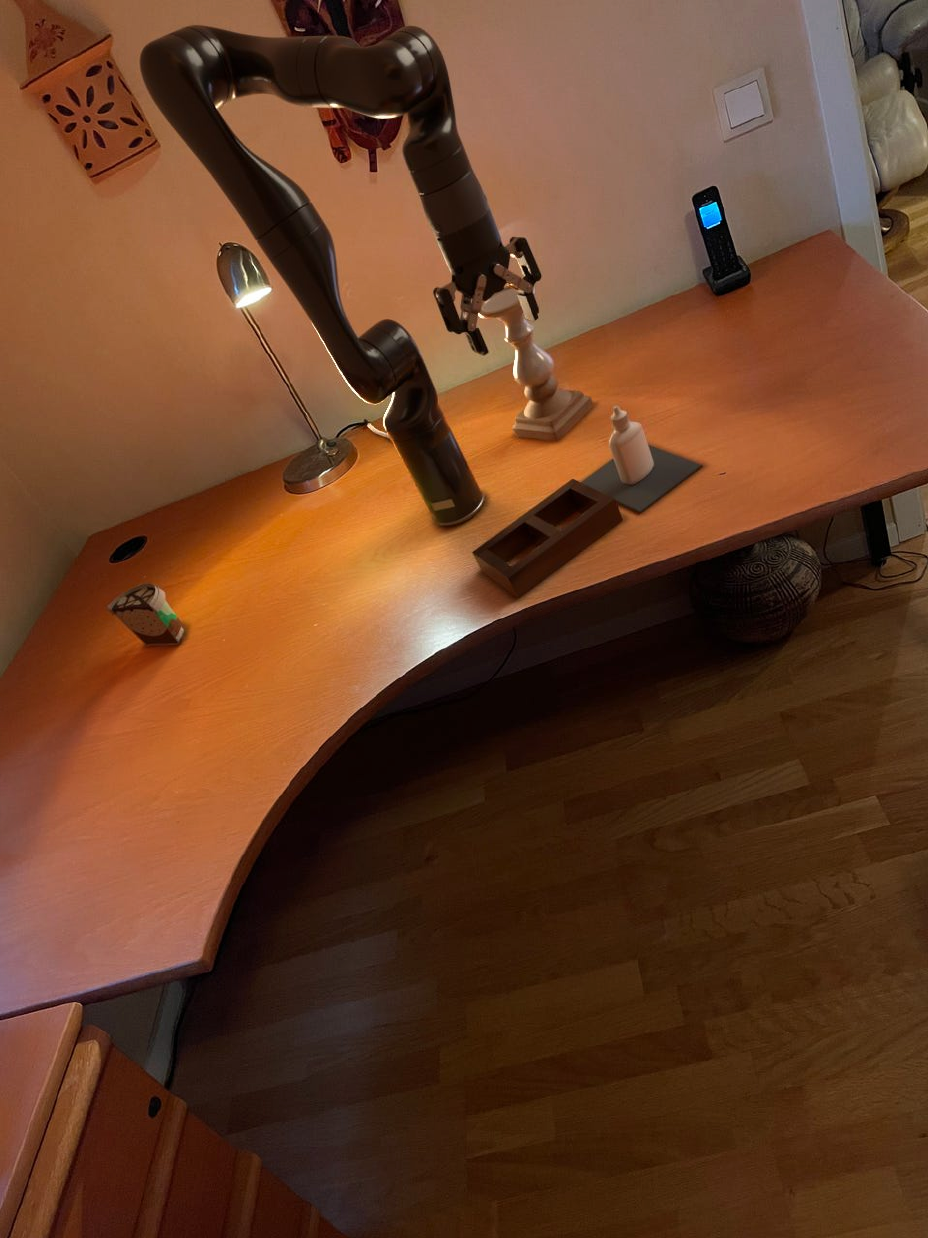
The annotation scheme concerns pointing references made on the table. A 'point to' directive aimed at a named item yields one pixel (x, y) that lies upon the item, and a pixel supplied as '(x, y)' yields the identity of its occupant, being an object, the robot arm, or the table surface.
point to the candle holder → (535, 374)
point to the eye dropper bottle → (629, 448)
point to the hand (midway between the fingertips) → (508, 336)
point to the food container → (148, 615)
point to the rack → (547, 536)
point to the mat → (643, 480)
